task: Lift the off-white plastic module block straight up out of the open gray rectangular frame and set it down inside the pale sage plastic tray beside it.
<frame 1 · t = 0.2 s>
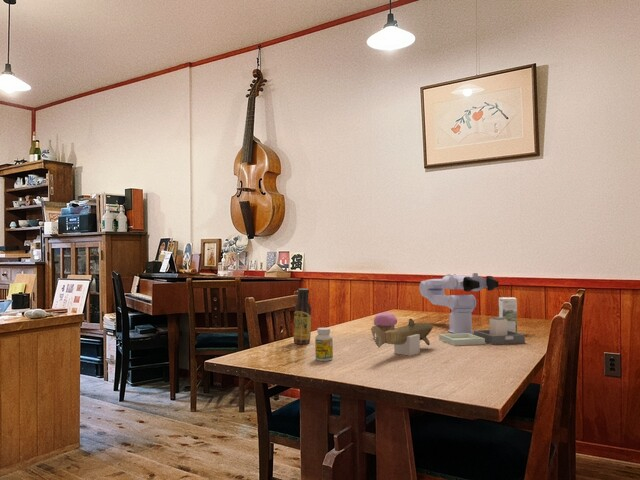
hand: (488, 284, 180), 21 cm above the table, tool horizontal, fingers open, 7 cm apart
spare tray: (461, 341, 180), on the table
syrup box: (508, 333, 198), on the table
supplement bottle: (324, 360, 152), on the table
module block: (498, 329, 182), in the gray rectangular frame
cupcake: (385, 338, 189), on the table
sauce bottle: (302, 343, 179), on the table
gray rectangular frame: (498, 340, 182), on the table
wood carving: (403, 354, 159), on the table
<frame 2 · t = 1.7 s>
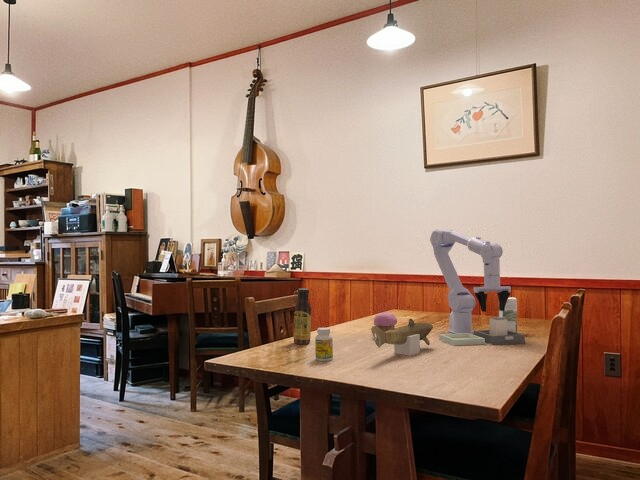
hand: (492, 311, 186), 10 cm above the table, tool pointing down, fingers open, 7 cm apart
nothing on the table moved.
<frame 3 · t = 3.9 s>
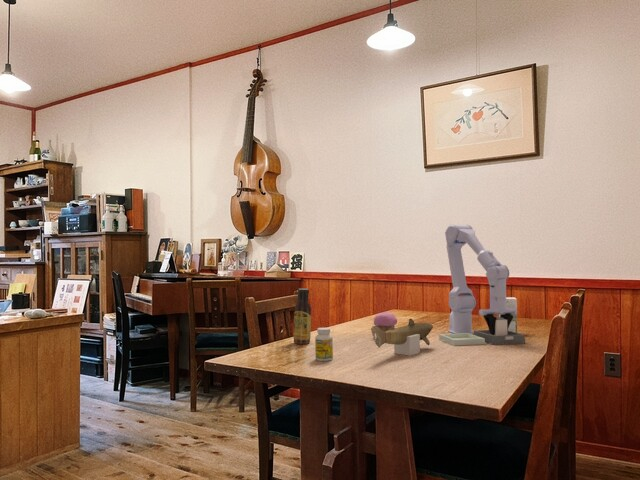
hand: (498, 334, 182), 2 cm above the table, tool pointing down, fingers closed on module block, 4 cm apart
module block: (498, 329, 182), in the gray rectangular frame, touching gripper
everything else where it was.
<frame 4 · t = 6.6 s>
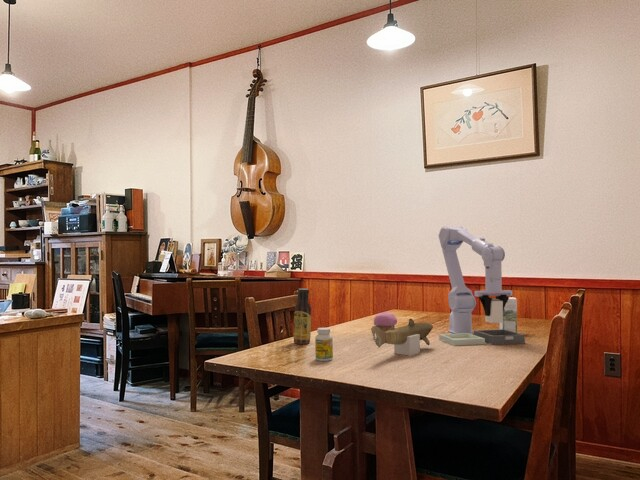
hand: (493, 315, 182), 9 cm above the table, tool pointing down, fingers closed on module block, 4 cm apart
module block: (493, 310, 182), point 11 cm above the table, touching gripper
everything else where it was.
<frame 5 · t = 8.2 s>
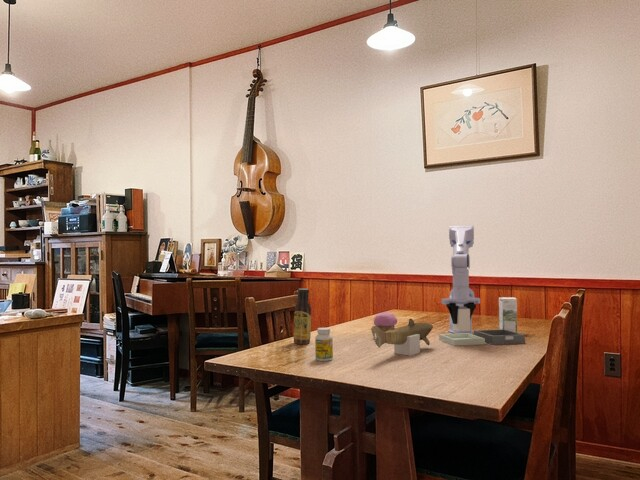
hand: (461, 323, 180), 7 cm above the table, tool pointing down, fingers closed on module block, 4 cm apart
module block: (461, 318, 180), point 9 cm above the table, touching gripper
everything else where it was.
when the fingers open (5 cm above the table, at t = 9.5 s): module block drops 2 cm, resting on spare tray.
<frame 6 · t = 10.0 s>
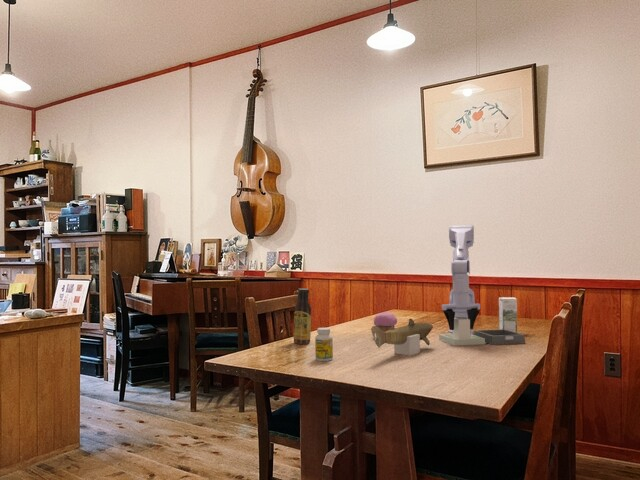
hand: (461, 329, 180), 5 cm above the table, tool pointing down, fingers open, 7 cm apart
module block: (461, 328, 180), in the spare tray
everything else where it was.
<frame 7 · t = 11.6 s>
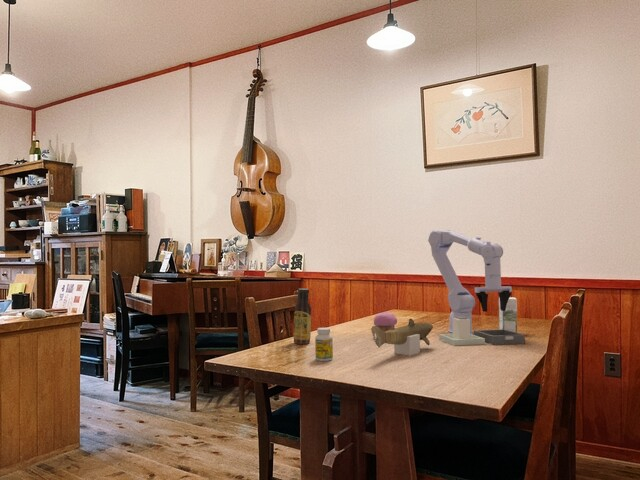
hand: (493, 311, 187), 10 cm above the table, tool pointing down, fingers open, 7 cm apart
nothing on the table moved.
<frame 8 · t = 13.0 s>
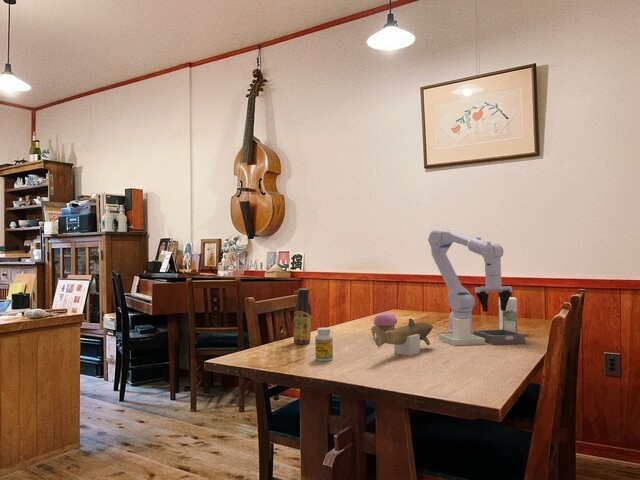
hand: (494, 311, 187), 10 cm above the table, tool pointing down, fingers open, 7 cm apart
nothing on the table moved.
at the end: module block 0.0 cm off-centre on the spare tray, point 4.8 cm above the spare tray's base; module block tilted 0°; the gripper is holding nothing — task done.
